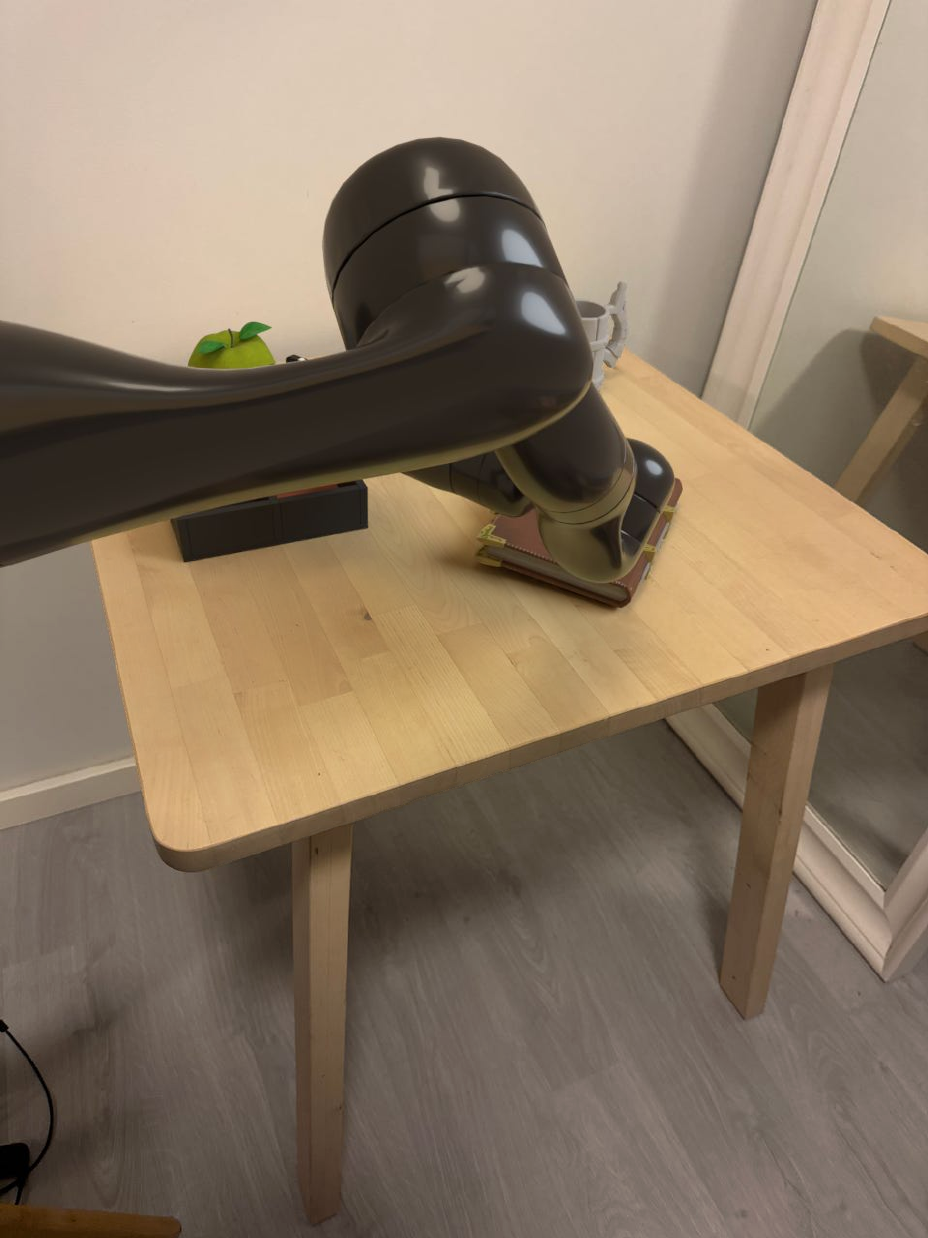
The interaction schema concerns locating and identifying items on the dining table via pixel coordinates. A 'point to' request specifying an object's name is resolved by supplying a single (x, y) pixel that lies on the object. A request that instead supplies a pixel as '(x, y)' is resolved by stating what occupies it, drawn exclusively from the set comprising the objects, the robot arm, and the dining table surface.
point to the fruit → (233, 349)
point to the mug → (605, 330)
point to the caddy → (273, 520)
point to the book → (526, 553)
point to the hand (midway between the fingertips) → (278, 370)
